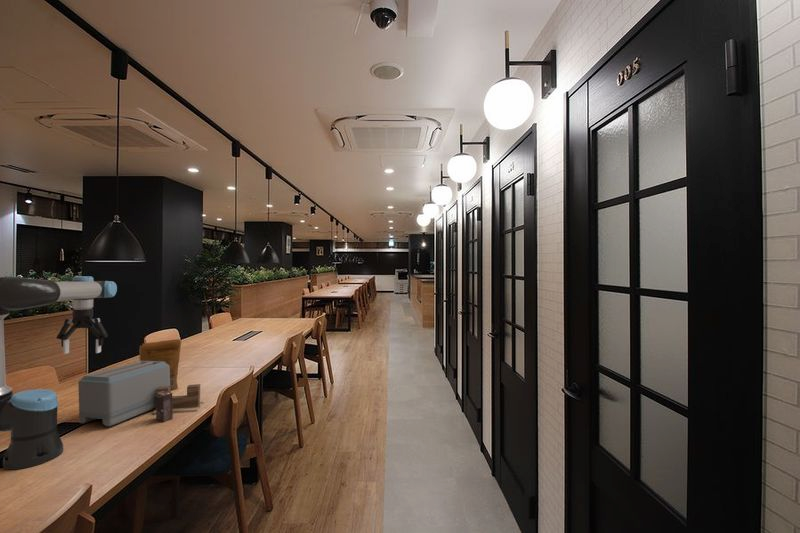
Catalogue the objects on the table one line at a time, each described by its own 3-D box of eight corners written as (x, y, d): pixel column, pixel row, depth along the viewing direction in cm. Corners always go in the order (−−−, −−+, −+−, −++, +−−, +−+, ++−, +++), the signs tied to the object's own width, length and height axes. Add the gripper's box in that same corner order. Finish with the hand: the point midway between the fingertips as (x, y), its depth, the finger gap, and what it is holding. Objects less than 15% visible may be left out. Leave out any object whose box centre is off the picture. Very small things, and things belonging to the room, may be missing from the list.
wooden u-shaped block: (197, 411, 171) (197, 388, 171) (151, 414, 166) (152, 391, 167) (203, 403, 181) (203, 381, 181) (160, 406, 176) (160, 384, 176)
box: (155, 419, 161) (155, 393, 161) (165, 416, 165) (166, 390, 165) (162, 422, 158) (162, 395, 158) (173, 419, 162) (173, 392, 162)
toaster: (178, 399, 184) (176, 359, 184) (109, 427, 151) (108, 378, 152) (149, 397, 188) (148, 358, 189) (77, 423, 156) (76, 376, 157)
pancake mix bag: (181, 390, 200) (181, 339, 200) (138, 396, 190) (139, 343, 190) (180, 386, 205) (181, 337, 205) (139, 392, 195) (140, 341, 195)
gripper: (116, 307, 178) (116, 350, 178) (59, 308, 174) (58, 352, 174) (107, 309, 171) (106, 353, 171) (46, 309, 167) (46, 355, 166)
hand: (82, 353), depth 172 cm, fingers open, 13 cm apart
